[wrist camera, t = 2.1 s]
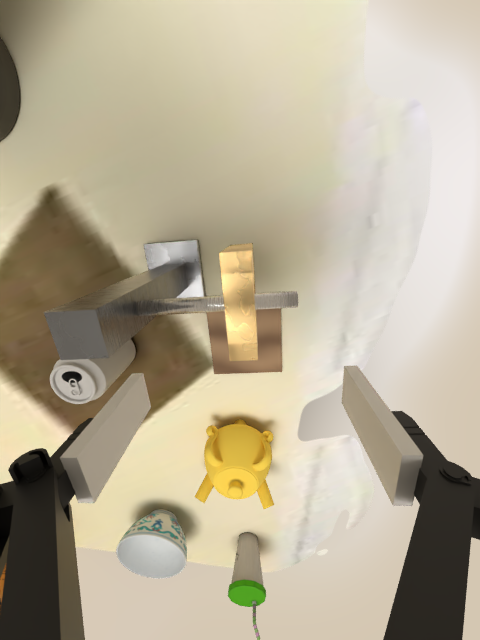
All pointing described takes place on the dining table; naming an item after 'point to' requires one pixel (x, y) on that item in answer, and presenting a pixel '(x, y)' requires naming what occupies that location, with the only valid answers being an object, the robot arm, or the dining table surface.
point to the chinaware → (154, 546)
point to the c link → (239, 301)
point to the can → (89, 375)
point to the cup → (247, 576)
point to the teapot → (237, 462)
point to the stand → (142, 303)
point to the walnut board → (265, 339)
